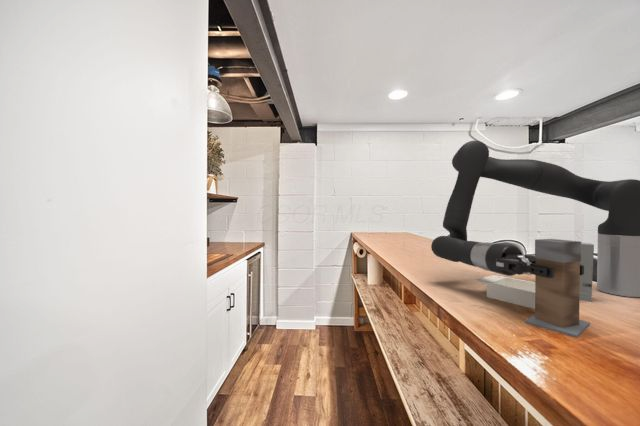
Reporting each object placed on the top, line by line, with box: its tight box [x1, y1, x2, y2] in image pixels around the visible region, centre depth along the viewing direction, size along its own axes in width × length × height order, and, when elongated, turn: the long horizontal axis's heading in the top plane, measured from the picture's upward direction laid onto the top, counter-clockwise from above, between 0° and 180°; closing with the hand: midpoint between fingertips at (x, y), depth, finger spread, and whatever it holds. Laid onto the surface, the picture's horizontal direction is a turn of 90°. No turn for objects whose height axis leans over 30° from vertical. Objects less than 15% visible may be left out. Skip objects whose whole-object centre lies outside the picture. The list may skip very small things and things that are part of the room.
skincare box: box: [579, 241, 595, 303], centre depth 73 cm, size 8×7×16 cm
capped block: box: [534, 238, 582, 328], centre depth 55 cm, size 5×5×17 cm
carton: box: [474, 274, 535, 310], centre depth 70 cm, size 11×17×4 cm, turn 35°
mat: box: [524, 314, 590, 339], centre depth 55 cm, size 10×8×1 cm
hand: (568, 271), depth 53 cm, fingers open, 8 cm apart
